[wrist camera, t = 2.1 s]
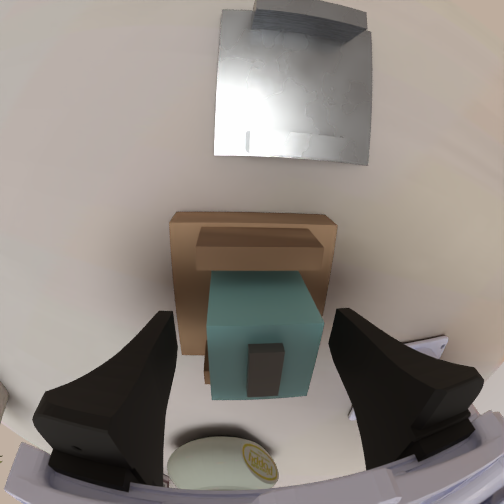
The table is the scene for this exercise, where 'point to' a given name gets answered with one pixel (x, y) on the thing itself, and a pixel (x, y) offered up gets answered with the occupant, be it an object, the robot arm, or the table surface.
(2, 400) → the house plant
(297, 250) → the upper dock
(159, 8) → the table surface
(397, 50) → the table surface
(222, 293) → the plug
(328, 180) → the table surface
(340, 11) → the lower dock
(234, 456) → the air freshener
